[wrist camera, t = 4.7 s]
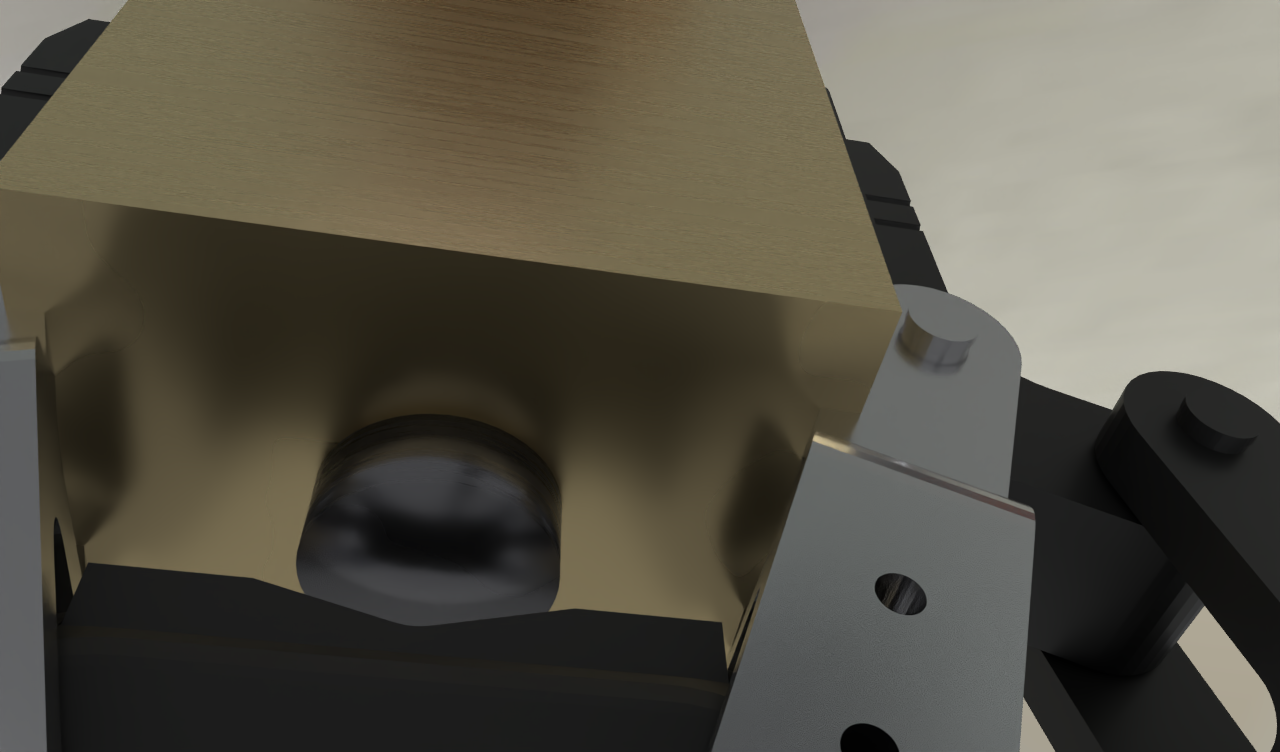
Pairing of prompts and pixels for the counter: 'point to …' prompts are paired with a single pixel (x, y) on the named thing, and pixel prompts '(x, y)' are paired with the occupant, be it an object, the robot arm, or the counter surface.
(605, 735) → the robot arm
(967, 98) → the counter surface
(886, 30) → the counter surface
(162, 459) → the brushed brass block
